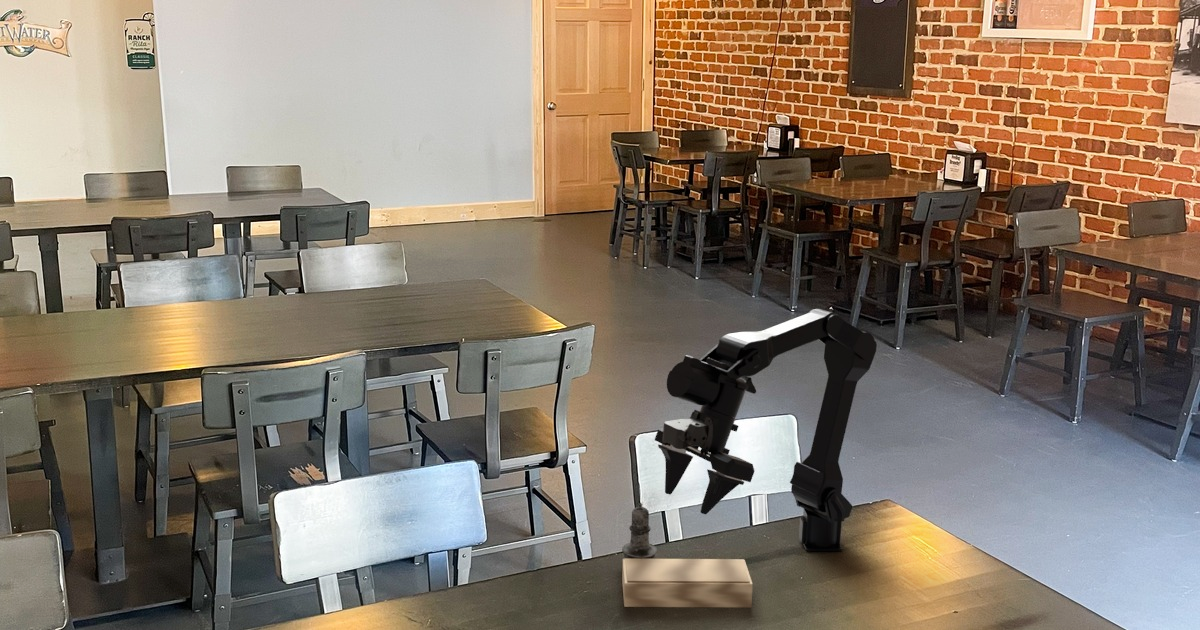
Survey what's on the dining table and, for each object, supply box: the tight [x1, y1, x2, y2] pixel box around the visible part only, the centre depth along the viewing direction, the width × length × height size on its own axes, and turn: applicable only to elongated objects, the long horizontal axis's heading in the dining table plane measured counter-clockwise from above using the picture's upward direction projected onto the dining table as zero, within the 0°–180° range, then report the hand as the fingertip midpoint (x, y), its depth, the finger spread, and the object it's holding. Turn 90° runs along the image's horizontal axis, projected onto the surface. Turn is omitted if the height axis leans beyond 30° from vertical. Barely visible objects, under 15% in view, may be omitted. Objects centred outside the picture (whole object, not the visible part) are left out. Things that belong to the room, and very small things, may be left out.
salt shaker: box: [621, 502, 658, 559], centre depth 180 cm, size 6×6×12 cm
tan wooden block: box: [621, 557, 753, 608], centre depth 172 cm, size 20×8×4 cm, turn 91°
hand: (685, 503), depth 171 cm, fingers open, 9 cm apart
